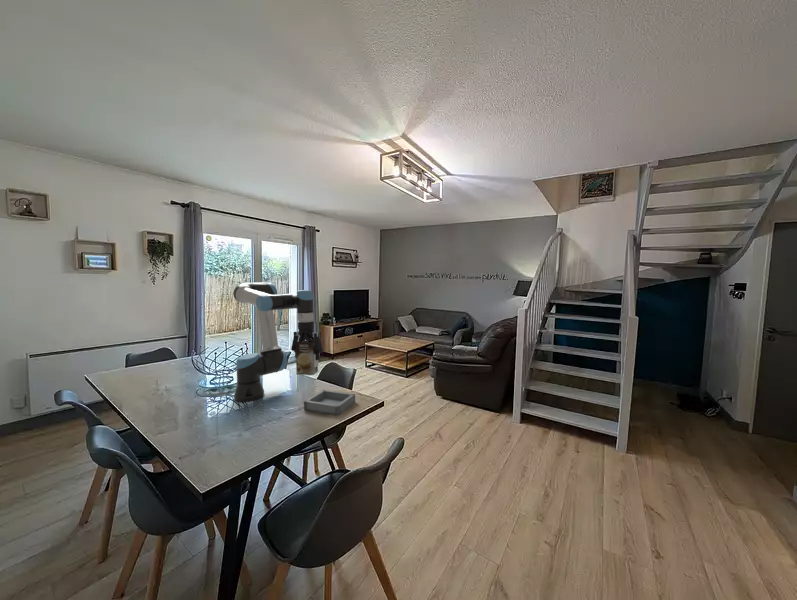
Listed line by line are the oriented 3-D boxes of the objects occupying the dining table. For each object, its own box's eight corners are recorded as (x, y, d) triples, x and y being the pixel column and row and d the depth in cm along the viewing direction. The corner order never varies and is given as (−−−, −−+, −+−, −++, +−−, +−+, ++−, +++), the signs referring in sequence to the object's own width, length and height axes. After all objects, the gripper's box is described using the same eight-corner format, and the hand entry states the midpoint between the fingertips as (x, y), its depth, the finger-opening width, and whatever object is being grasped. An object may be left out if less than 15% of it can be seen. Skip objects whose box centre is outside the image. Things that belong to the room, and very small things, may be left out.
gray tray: (304, 410, 152) (303, 401, 152) (323, 397, 168) (323, 389, 168) (338, 416, 145) (338, 406, 145) (355, 402, 161) (355, 394, 161)
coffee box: (295, 374, 149) (294, 342, 148) (301, 371, 155) (300, 340, 154) (313, 375, 148) (312, 342, 147) (318, 371, 154) (317, 340, 153)
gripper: (282, 321, 151) (284, 365, 152) (320, 323, 142) (321, 369, 144) (292, 319, 158) (294, 361, 159) (329, 321, 149) (330, 365, 151)
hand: (307, 365), depth 151 cm, fingers closed on coffee box, 10 cm apart
